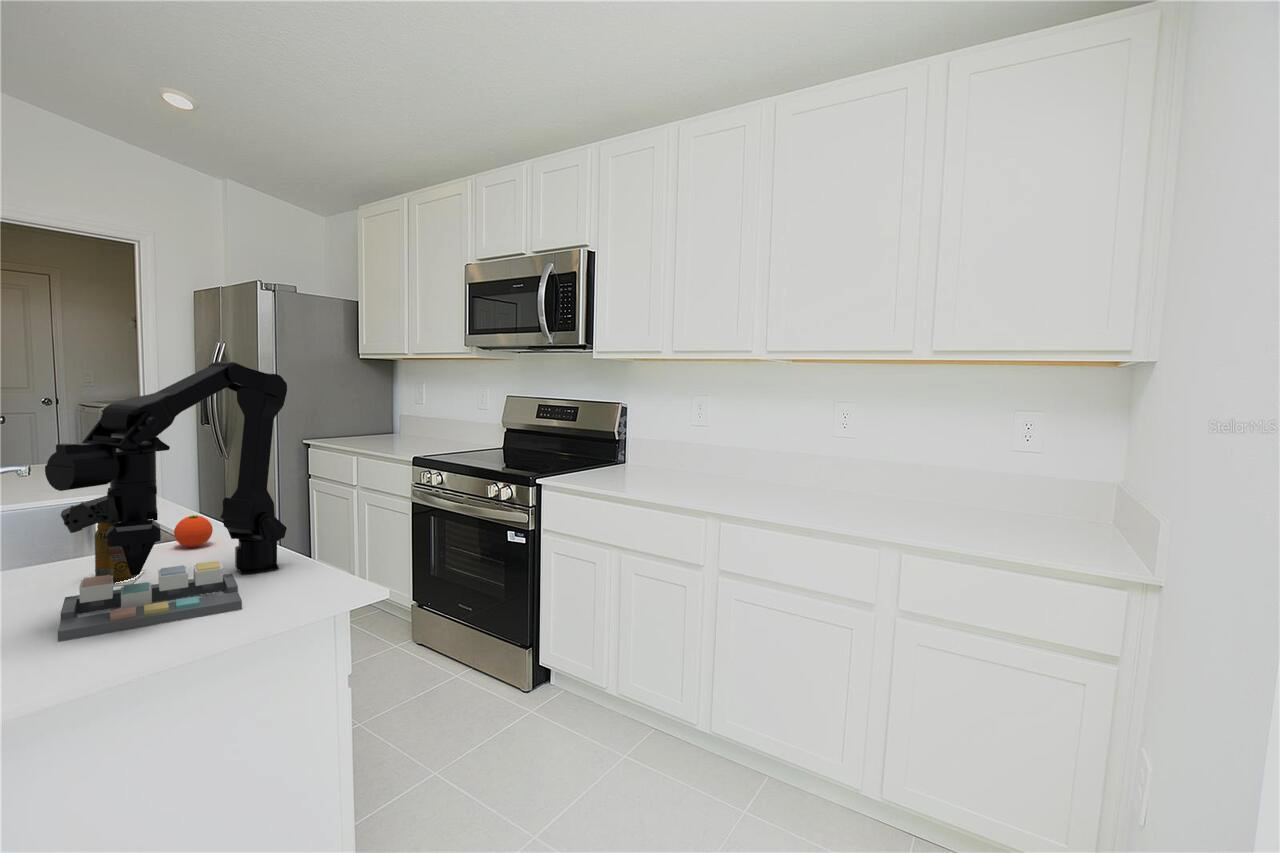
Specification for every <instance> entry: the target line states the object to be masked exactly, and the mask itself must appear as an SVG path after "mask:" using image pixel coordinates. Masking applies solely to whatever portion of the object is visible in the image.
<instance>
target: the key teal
mask: <svg viewBox="0 0 1280 853" xmlns="http://www.w3.org/2000/svg"><path fill="white" fill-rule="evenodd" d="M151 585H152V582H149V581H146V582H140V583H133V584H128V585H123V586H121V588H120V589H121V607H120V609H122V608H128V607H135V606H136V608H139V607H144V605H147V604H153V602H152V589H151Z"/></svg>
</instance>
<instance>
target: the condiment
mask: <svg viewBox="0 0 1280 853" xmlns="http://www.w3.org/2000/svg"><path fill="white" fill-rule="evenodd" d="M112 525H114V524H110V523H109V524H108V519H106V520H104V521H102V522H99V523H97V526H96V527H97V530H96V531H95V533H94V550H95V551H94V564H95V565H94V568H95V569H94V570H95V571H94V572H95V575H94V576H93V577H97V576H105V575H110V576H113V587H114V586H115V587H116V586H124V585H131V584H134V583H135V581H137V579H138V578H135V579H136V580H130V581H128V582H123V583H121V582H120V581H124V580H128V579H131V578H134V577H136V576H137V575H133V576H132V575H131V574H130V571H129V568H128V564H127V561H126V558H125V555H124V551H123V548H122V547H121V546H115V547H109V546H107V532H108V529H109V528H110V527H111V526H112ZM145 570H146V569H142V570H141V571H145ZM145 572H146V571H145ZM116 582H120V583H116ZM115 583H116V584H115Z"/></svg>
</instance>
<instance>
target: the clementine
mask: <svg viewBox="0 0 1280 853" xmlns="http://www.w3.org/2000/svg"><path fill="white" fill-rule="evenodd" d="M213 531H214V528H213V525H212V523H211V522H210V520H208V519H207V518H206V517H203V516H201V515H197V514H193V515H189V516H186V517H184V518H183V519H181V520H180V521H179V522H178V523H177V524H176V525H175V527H174V531H173V535H174V538H175V541H176V542H177V543H178V544H179V545H181V546H183V547H185V548H196V547H200V546H202V545H204V544H205V543H207V542H208V541H209V540H210V538H211V537H212V536H213V535H212V534H213Z"/></svg>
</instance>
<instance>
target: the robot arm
mask: <svg viewBox="0 0 1280 853" xmlns="http://www.w3.org/2000/svg"><path fill="white" fill-rule="evenodd" d="M225 389H228V390H230V391H232V392H236V402H237V404H238V407H239V408H240V410H241V412H242V414H243V418H244V419H243V430H242V440H241V448H240V450H241V451H240V461H239V468H238V470H239V471H238V480H237V488H236V490H235V491H234V493H233V494H232V495H231V496H230V497H223V500H222V512H221V515H220V518H219V519H221V520H222V522H223V526H224V527H225V529H226V530H227V531H228V534H229V536H230V539H231V540H238V545H236V546H235V547H234V558H235V559H234V567H235V569H236V570H237V571H239V574H240V575H249V574H255V573H261V572H262V573H263V572H271V571H274V570H275V571H277V570H279V569H280V566H279V564H278V542H279V541H280V540H282V539H285V535H286V532H287V529H288V527H286V525H285V524H283V523H282V522H281V521H280V520H279V519H278V518H277V517H276V513H275V503H274V501H273V499H272V496H271V494H270V492H269V491H268V481H269V473H270V472H269V470H270V461H271V452H272V441H273V440H272V438H273V429H274V419H275V418H276V417H277V415H278V413H279V412H280V411H281V410H282V408H283V407H284V405H285V401H286V396H287V392H288V384H287V381H285V380H284V377H282V375H280V374H277V373H266V372H264V371H260V370H255V369H252V368H249V367H247V366H244V365H241V364H239V363H237V362H233V361H219V360H218V361H214V362H212V363H210V364H209V365H208V366H206V367H205V368H203V369H201V370H198V371H197V372H195V373H193V374H191V375H189V376H187V377H184V378H183V379H181V380H178V381H177V382H174V383H172V384H170V385H169V386H166V387H165V388H162V389H161V390H158V391H156V392H154V393H150V394H145V395H139V396H134V397H129V398H126V399H123V400H118V401H116V402H112V403H110V404H108V405H106V406H105V407H104V408H103V409H102V410H101V412H102V414H101V417H100V419H99V420H98V421H97V423H96V424H95V425H94V427H93V428H92V429H91V431H89V433H88V434H87V436H86V437H85V438H84V439H83V440H82V442H81V443H66V442H65V443H56V445H55V452H54V453H52V454H50V456H49V458H48V460H47V463H46V465H45V466H44V472H45V473H44V474H45V477H46V480H47V482H48V484H49V485H50V486H51V487H52V488H53V489H54V490H55V491H56V490H57V491H58V492H63V491H70V490H77V489H83V488H91V487H97V486H104V485H108V484H110V485H109V487H108V488H107V492H106V493H107V495H105V496H104V495H103V496H101V497H98V498H94V499H92V500H87V501H85V502H83V501H82V502H80V503H79V504H76V505H71V506H70V507H68V508H65V509H63V510H62V511H61V513H60V517H61V519H62V521H63V525H64V526H66V527H67V529H68V532H69V533H70V534H72V533H73V534H74V533H77V532H79V531H80V532H81V531H82V530H83V529H84V528H87V527H90V526H93V525H96V524H98V523H99V522H102V521H104V520H106V519H108V524H109V523H110V524H114V525H112V526H111V527H110V528H109V529H108V532H107V546H109V547H115V546H121V547H122V548H123V551H124V555H125V558H126V561H127V564H128V568H129V571H130V574H131V575H132V576H133V575H139V574H140V572H141V570H143V568H144V566H145V564H146V561H147V560H148V557H149V556H150V553H151V551H152V550H153V547H154V546H155V544H156V543H157V542H158V543H159V542H161V539H162V538H161V536H162V535H161V533H162V532H161V525H160V524H159V523H158V522H157V521H158V520H159V519H158V514H159V513H158V507H157V505H158V504H157V503H158V502H157V501H158V500H157V497H158V496H157V494H158V486H157V452H164V451H169V450H170V449H171V447H170V446H169V445H168V444H167V443H165V442H164V441H163V440H161V439H160V438H159V437H158V436H159V435H161V433H163V432H164V431H166V430H167V429H168V428H169V427H170V426H172V424H173V423H174V421H175V419H176V417H177V416H178V415H180V413H182V412H184V411H186V410H187V409H190V408H192V407H193V406H195V405H197V404H199V403H201V402H203V401H204V400H206V399H208V398H210V397H211V396H213V395H215V394H217V393H220V392H221V391H222V390H225Z"/></svg>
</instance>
